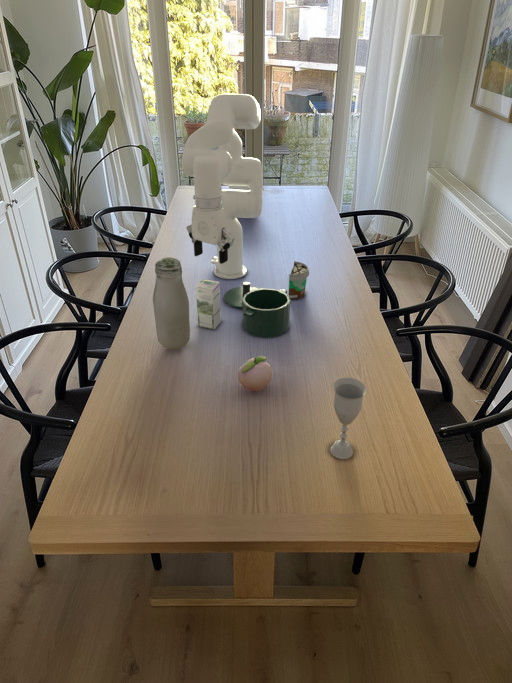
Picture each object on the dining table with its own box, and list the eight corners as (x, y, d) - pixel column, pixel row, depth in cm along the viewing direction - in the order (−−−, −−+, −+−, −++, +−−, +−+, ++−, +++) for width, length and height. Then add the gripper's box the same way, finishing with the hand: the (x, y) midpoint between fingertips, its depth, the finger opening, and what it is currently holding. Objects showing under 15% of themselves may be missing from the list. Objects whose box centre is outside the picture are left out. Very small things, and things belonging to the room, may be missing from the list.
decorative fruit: (259, 404, 131) (260, 372, 126) (233, 393, 135) (232, 362, 129) (278, 385, 138) (279, 354, 132) (252, 375, 141) (252, 345, 136)
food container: (305, 303, 178) (307, 276, 172) (287, 301, 179) (289, 274, 173) (309, 287, 188) (311, 262, 183) (292, 286, 189) (294, 260, 184)
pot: (228, 331, 161) (227, 304, 156) (265, 307, 175) (265, 281, 170) (266, 346, 154) (267, 319, 149) (301, 319, 168) (303, 293, 163)
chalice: (323, 440, 120) (330, 378, 110) (352, 439, 121) (361, 376, 111) (330, 463, 114) (337, 399, 104) (360, 461, 114) (370, 398, 105)
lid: (214, 301, 178) (213, 285, 175) (241, 285, 189) (241, 269, 186) (251, 314, 171) (251, 298, 167) (277, 297, 181) (278, 281, 178)
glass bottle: (164, 358, 148) (155, 269, 133) (153, 342, 156) (143, 255, 141) (196, 350, 152) (191, 262, 137) (184, 334, 160) (177, 249, 145)
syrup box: (221, 321, 167) (220, 280, 159) (214, 330, 162) (212, 288, 154) (205, 318, 168) (203, 278, 160) (197, 327, 164) (195, 285, 156)
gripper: (176, 199, 147) (181, 255, 156) (224, 210, 139) (225, 269, 148) (194, 193, 153) (197, 248, 162) (241, 204, 144) (241, 261, 153)
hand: (210, 258), depth 155 cm, fingers open, 9 cm apart
